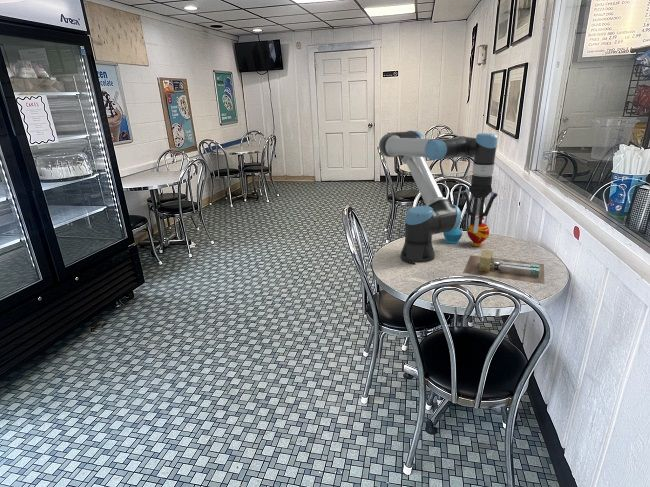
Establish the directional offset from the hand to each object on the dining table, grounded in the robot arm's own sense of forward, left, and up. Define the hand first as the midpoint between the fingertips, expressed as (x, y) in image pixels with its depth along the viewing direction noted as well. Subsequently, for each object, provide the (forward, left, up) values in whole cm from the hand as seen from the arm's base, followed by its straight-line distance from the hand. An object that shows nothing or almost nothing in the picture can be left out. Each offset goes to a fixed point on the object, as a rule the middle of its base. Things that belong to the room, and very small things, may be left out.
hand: (475, 231), depth 161 cm
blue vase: (-14, +31, -16) cm, 38 cm away
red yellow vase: (-2, +30, -16) cm, 34 cm away
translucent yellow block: (+5, -2, -14) cm, 15 cm away
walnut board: (+12, 0, -16) cm, 20 cm away
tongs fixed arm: (+13, -2, -15) cm, 20 cm away
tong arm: (+16, -1, -14) cm, 22 cm away
